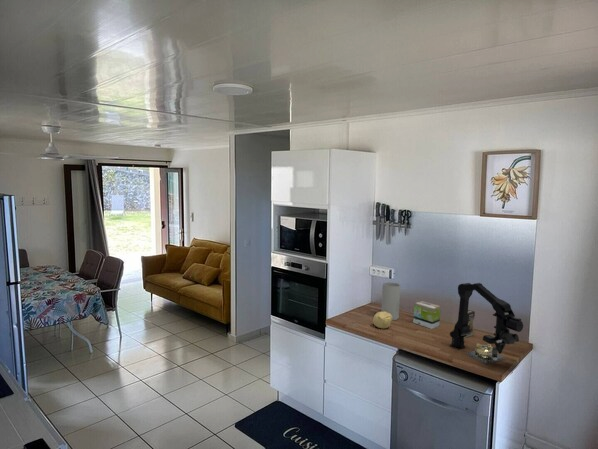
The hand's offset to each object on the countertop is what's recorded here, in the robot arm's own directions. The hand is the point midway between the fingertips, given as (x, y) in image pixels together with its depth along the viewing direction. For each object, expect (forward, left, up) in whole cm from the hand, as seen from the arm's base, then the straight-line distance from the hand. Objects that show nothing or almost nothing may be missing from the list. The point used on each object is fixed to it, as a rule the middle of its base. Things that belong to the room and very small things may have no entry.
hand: (499, 353), depth 221 cm
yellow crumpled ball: (-73, -23, -7) cm, 76 cm away
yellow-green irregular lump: (-7, 0, -5) cm, 9 cm away
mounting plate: (-10, +2, -7) cm, 12 cm away
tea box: (-65, +9, -7) cm, 65 cm away
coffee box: (-40, +19, -7) cm, 44 cm away
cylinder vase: (-86, -6, -7) cm, 86 cm away
